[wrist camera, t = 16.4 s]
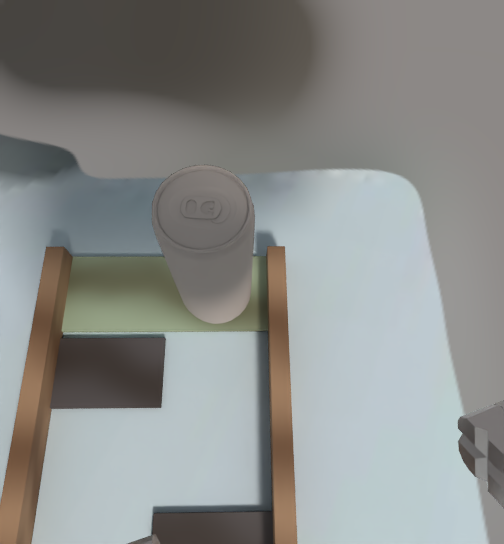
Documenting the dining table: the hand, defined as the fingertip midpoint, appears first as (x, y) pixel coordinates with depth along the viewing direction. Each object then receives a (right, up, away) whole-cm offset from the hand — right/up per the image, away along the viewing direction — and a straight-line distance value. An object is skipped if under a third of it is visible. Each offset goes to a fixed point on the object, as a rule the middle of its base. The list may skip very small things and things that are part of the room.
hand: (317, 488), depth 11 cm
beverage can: (-4, +4, +20) cm, 21 cm away
